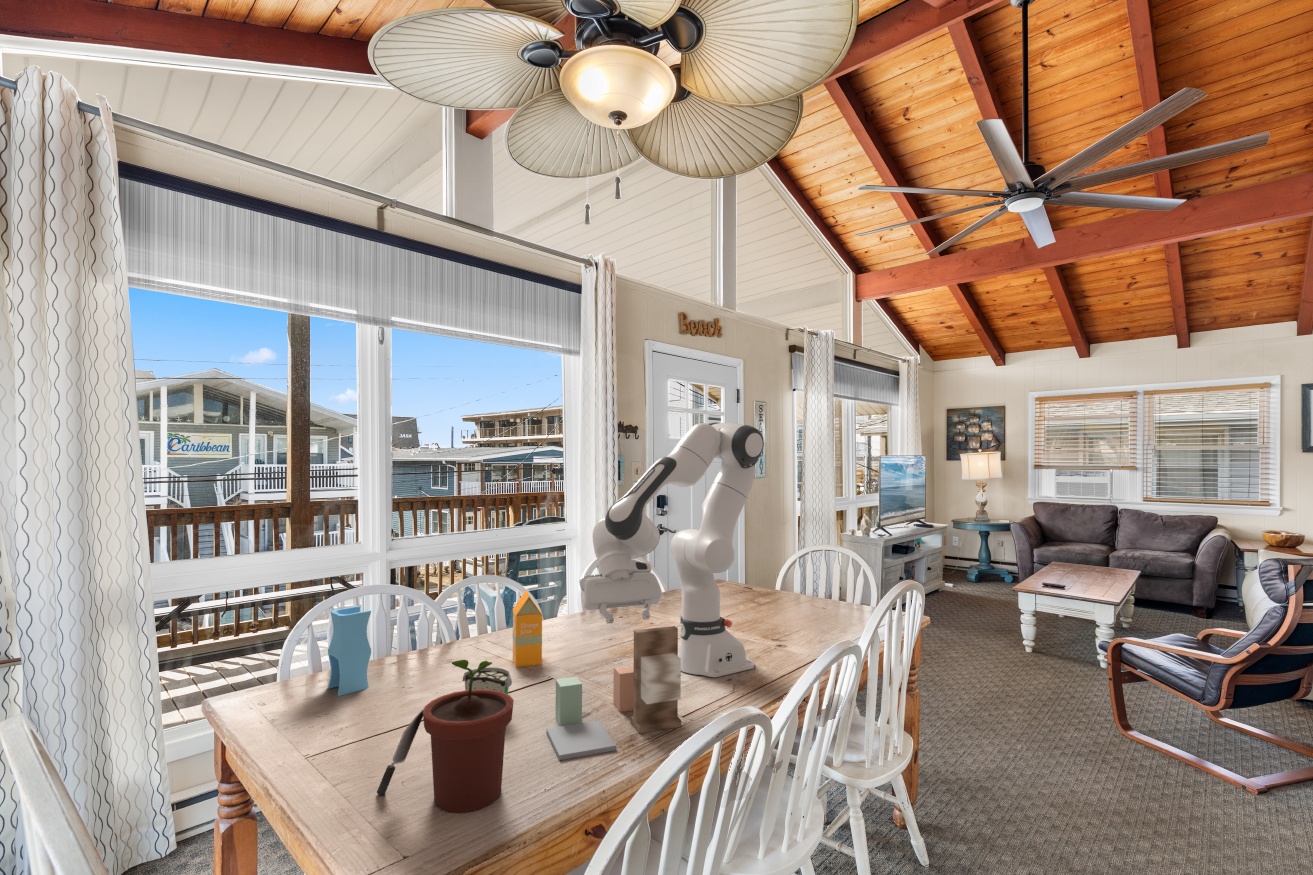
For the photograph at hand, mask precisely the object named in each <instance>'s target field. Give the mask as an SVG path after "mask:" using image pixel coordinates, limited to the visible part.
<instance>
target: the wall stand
mask: <svg viewBox="0 0 1313 875" xmlns="http://www.w3.org/2000/svg"><path fill="white" fill-rule="evenodd" d="M678 640H679V629H678V627H676V626H675V625H673V626H662V627H661V626H660V627H654V628H644V629H643V628H642V629H635V630H633V666H634V690H633V710H632V711H633V713H632V714H633V715H630V719H629V720H630V724H631V726H632V727H633V728H634V729H635V730H636V732H637V733H638V734H640V735H641V734H646V733H652V732H656V731H657V732H659V731H663V730H668V729H675V728H681V727H682V719H681V718H680V717H679V716H678V712H679V710H678V702H679V700H681V698H682V697H681V695H682V694H681V692H682V690H681V688H682V687H681V686H682V683H681V682H682V680H681V679H682V677H681V676H682V675H681V674H682V673H681V672H682V671H681V658H680V657H678V656H679V641H678Z"/></svg>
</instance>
